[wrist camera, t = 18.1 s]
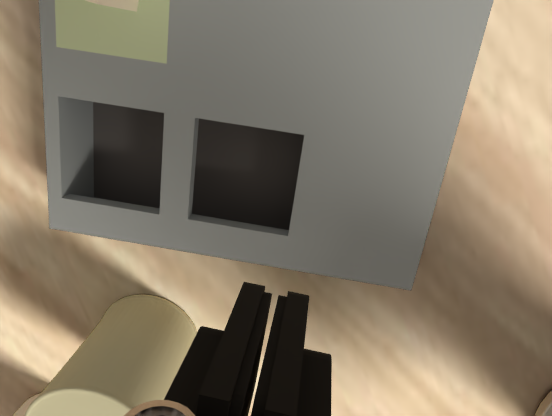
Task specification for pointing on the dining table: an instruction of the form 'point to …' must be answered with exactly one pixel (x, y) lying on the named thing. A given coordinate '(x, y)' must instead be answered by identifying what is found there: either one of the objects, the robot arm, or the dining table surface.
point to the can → (121, 361)
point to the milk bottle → (25, 406)
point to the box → (258, 126)
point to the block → (118, 4)
